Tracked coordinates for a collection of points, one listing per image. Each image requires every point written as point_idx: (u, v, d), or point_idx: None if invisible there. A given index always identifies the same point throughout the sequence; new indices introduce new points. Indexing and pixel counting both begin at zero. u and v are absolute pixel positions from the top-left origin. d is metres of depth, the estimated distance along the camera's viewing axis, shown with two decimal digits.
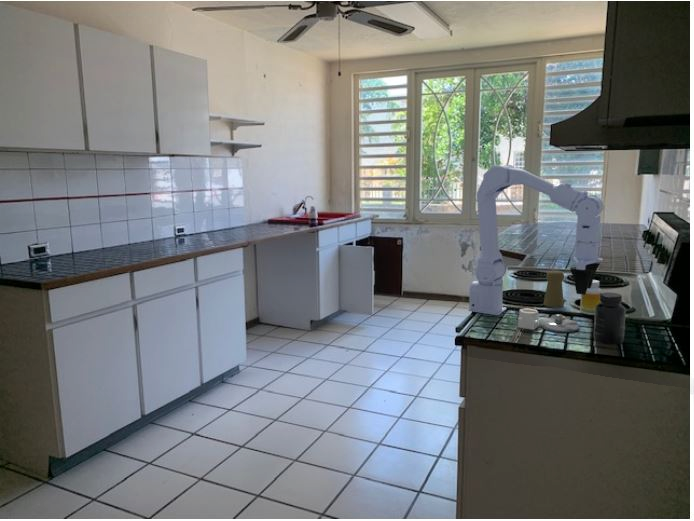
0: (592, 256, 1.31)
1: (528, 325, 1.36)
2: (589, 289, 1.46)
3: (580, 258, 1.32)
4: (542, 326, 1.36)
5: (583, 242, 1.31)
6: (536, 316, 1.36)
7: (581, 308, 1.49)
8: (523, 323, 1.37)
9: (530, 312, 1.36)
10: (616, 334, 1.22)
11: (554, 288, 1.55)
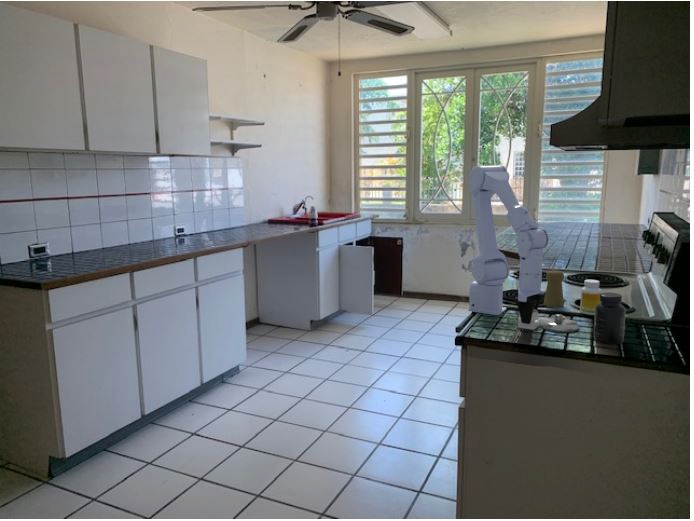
0: (534, 288, 1.33)
1: (528, 325, 1.36)
2: (589, 289, 1.46)
3: (523, 289, 1.35)
4: (542, 326, 1.36)
5: (525, 274, 1.33)
6: (536, 316, 1.36)
7: (581, 308, 1.49)
8: (523, 323, 1.37)
9: None
10: (616, 334, 1.22)
11: (554, 288, 1.55)
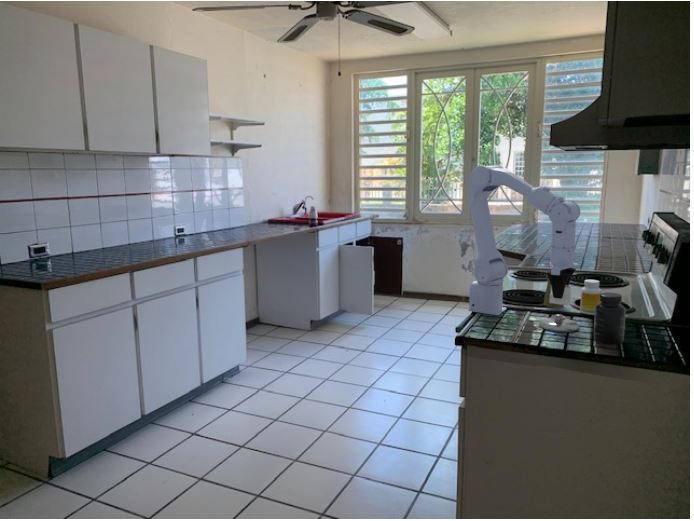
0: (567, 262, 1.31)
1: (560, 301, 1.34)
2: (589, 289, 1.46)
3: (555, 263, 1.32)
4: (542, 326, 1.36)
5: (558, 247, 1.31)
6: (568, 291, 1.34)
7: (581, 308, 1.49)
8: (555, 298, 1.35)
9: None
10: (616, 334, 1.22)
11: None
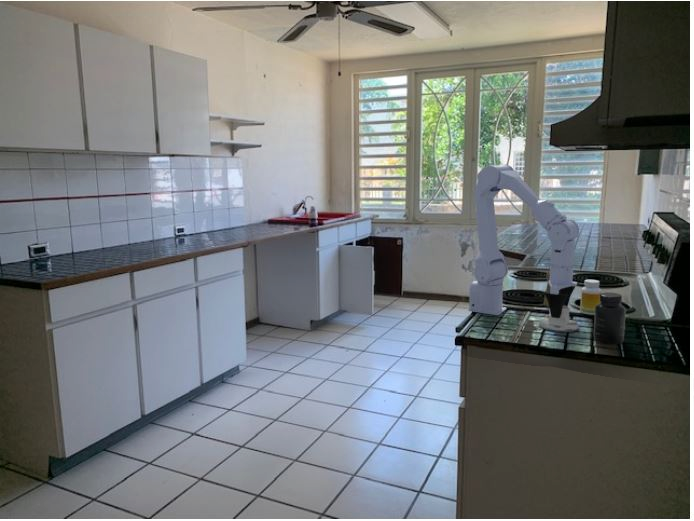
0: (566, 280, 1.32)
1: (559, 322, 1.35)
2: (589, 289, 1.46)
3: (554, 282, 1.33)
4: (542, 326, 1.36)
5: (557, 266, 1.32)
6: (567, 312, 1.35)
7: (581, 308, 1.49)
8: (554, 319, 1.36)
9: None
10: (616, 334, 1.22)
11: None
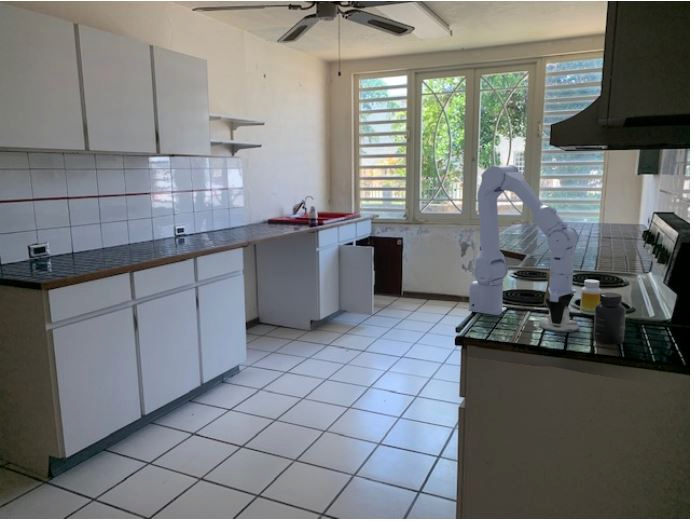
0: (565, 288, 1.33)
1: None
2: (589, 289, 1.46)
3: (554, 289, 1.34)
4: (542, 326, 1.36)
5: (557, 274, 1.33)
6: (567, 312, 1.35)
7: (581, 308, 1.49)
8: None
9: None
10: (616, 334, 1.22)
11: None
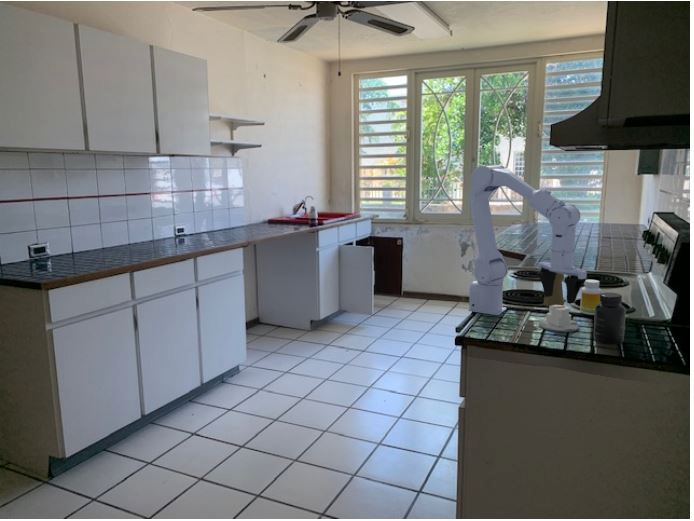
0: None
1: (566, 321, 1.36)
2: (589, 289, 1.46)
3: (567, 268, 1.32)
4: (542, 326, 1.36)
5: (570, 251, 1.31)
6: None
7: (581, 308, 1.49)
8: (563, 320, 1.35)
9: (565, 308, 1.36)
10: (616, 334, 1.22)
11: (554, 288, 1.55)
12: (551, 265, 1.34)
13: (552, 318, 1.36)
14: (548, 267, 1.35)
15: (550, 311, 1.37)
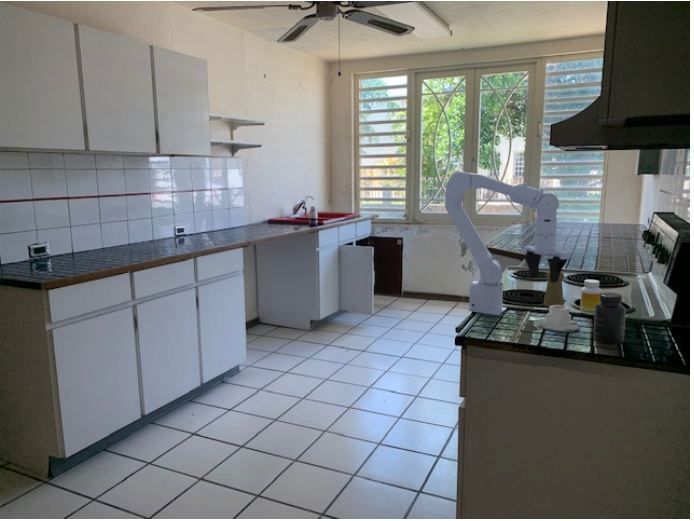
0: (555, 246, 1.44)
1: (566, 321, 1.36)
2: (589, 289, 1.46)
3: (550, 249, 1.43)
4: (542, 326, 1.36)
5: (552, 234, 1.42)
6: None
7: (581, 308, 1.49)
8: (563, 320, 1.35)
9: (565, 308, 1.36)
10: (616, 334, 1.22)
11: (554, 288, 1.55)
12: (535, 248, 1.46)
13: (552, 318, 1.36)
14: (533, 250, 1.47)
15: (550, 311, 1.37)
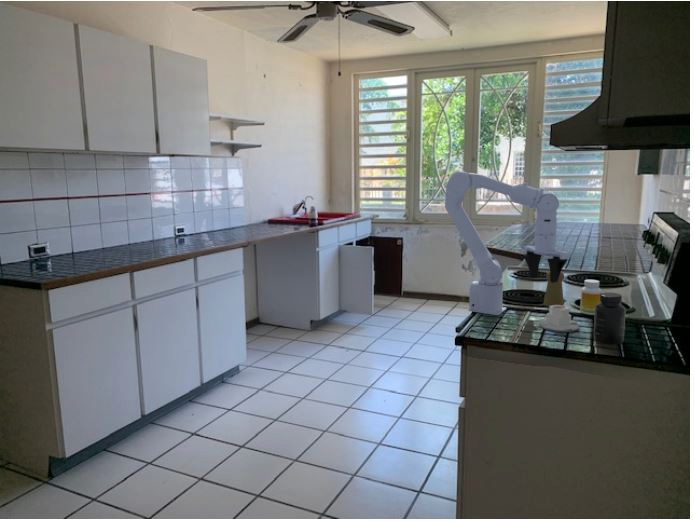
0: (555, 246, 1.44)
1: (566, 321, 1.36)
2: (589, 289, 1.46)
3: (550, 249, 1.43)
4: (542, 326, 1.36)
5: (552, 234, 1.42)
6: None
7: (581, 308, 1.49)
8: (563, 320, 1.35)
9: (565, 308, 1.36)
10: (616, 334, 1.22)
11: (554, 288, 1.55)
12: (535, 248, 1.46)
13: (552, 318, 1.36)
14: (533, 250, 1.47)
15: (550, 311, 1.37)
